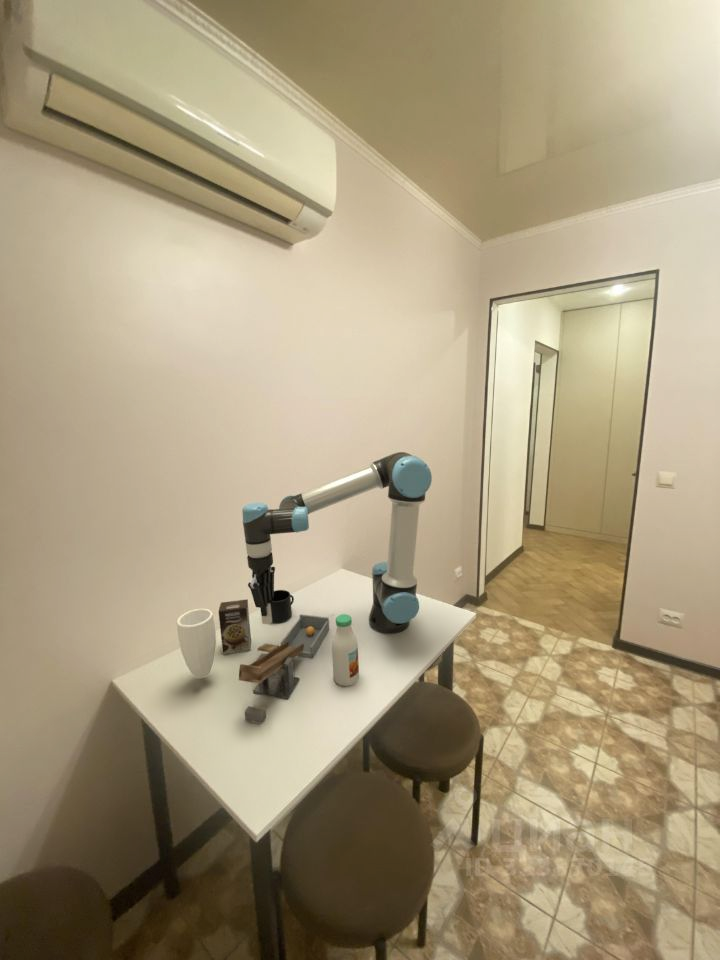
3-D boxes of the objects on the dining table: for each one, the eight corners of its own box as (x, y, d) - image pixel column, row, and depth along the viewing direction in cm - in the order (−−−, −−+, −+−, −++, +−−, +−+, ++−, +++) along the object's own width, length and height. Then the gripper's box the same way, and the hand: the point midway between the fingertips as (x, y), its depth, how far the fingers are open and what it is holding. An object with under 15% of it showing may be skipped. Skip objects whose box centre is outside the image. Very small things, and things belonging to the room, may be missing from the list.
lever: (303, 654, 125) (304, 638, 125) (259, 688, 98) (261, 668, 98) (265, 648, 128) (266, 633, 129) (213, 679, 101) (214, 660, 102)
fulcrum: (299, 680, 116) (297, 652, 114) (288, 699, 109) (285, 670, 107) (266, 674, 119) (264, 647, 117) (253, 693, 111) (250, 665, 110)
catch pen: (329, 630, 141) (328, 617, 140) (312, 658, 126) (311, 644, 125) (301, 626, 144) (300, 614, 143) (281, 653, 129) (280, 640, 128)
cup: (185, 675, 120) (176, 612, 116) (220, 666, 124) (213, 604, 119) (183, 698, 110) (174, 630, 106) (222, 687, 114) (214, 621, 110)
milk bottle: (341, 691, 111) (338, 628, 107) (329, 675, 118) (325, 616, 114) (364, 680, 115) (361, 619, 111) (350, 665, 122) (348, 608, 118)
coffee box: (222, 655, 129) (217, 611, 126) (225, 644, 135) (220, 601, 132) (250, 651, 131) (246, 607, 127) (251, 640, 137) (247, 598, 134)
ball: (312, 637, 136) (315, 634, 139) (312, 628, 136) (315, 625, 139) (304, 636, 137) (307, 633, 140) (304, 627, 137) (308, 624, 140)
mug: (301, 613, 153) (300, 592, 151) (276, 626, 145) (275, 604, 143) (287, 605, 159) (285, 585, 158) (262, 617, 151) (260, 596, 149)
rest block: (266, 717, 103) (265, 709, 102) (262, 723, 101) (261, 715, 100) (249, 714, 104) (248, 706, 103) (245, 720, 102) (244, 711, 102)
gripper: (259, 545, 126) (266, 611, 130) (236, 561, 113) (246, 633, 118) (280, 546, 124) (287, 613, 128) (259, 563, 111) (268, 636, 116)
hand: (267, 622), depth 123 cm, fingers closed
